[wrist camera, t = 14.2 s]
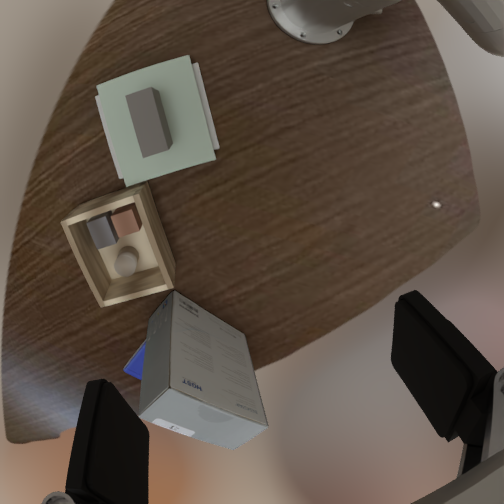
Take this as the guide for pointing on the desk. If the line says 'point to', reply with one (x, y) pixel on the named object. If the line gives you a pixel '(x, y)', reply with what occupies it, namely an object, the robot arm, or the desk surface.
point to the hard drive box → (199, 376)
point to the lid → (156, 120)
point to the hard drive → (136, 363)
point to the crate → (121, 245)
